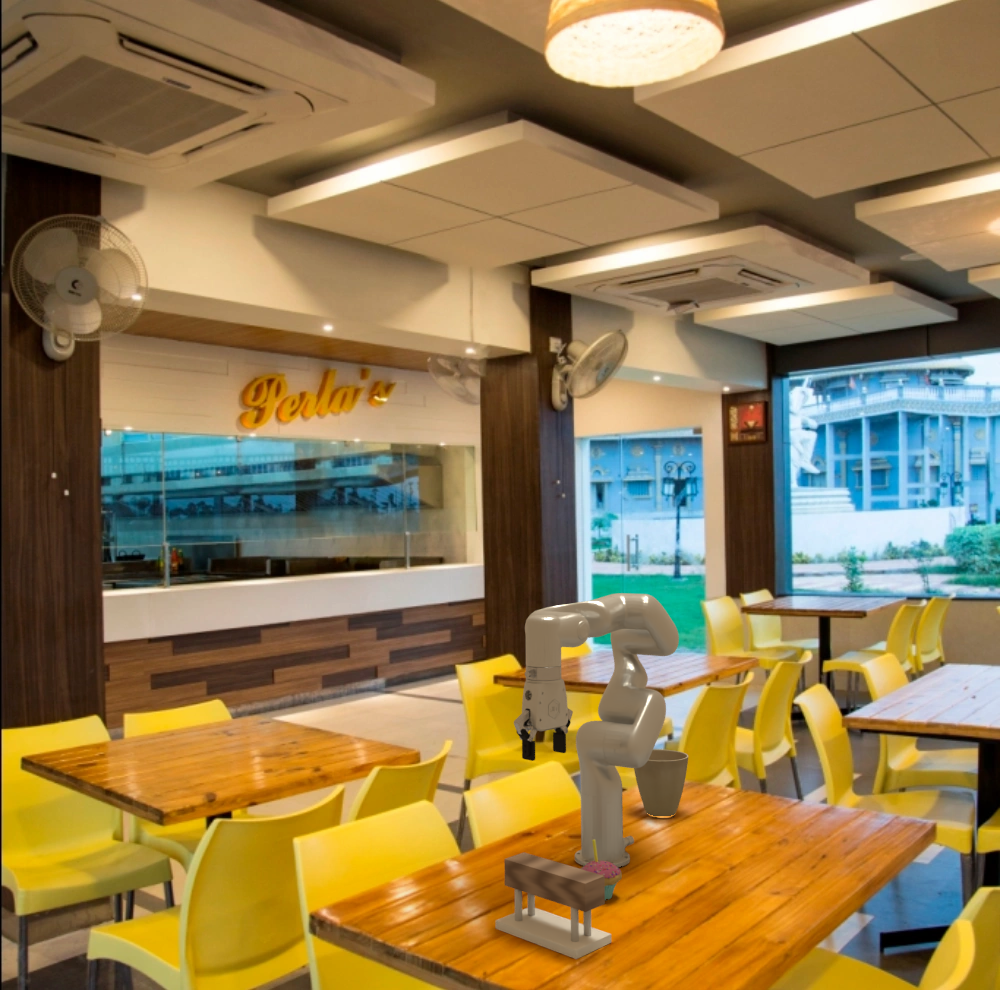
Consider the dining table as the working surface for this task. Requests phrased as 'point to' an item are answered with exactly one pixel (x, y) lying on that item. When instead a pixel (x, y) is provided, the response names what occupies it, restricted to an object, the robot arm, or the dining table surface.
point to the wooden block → (555, 881)
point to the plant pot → (662, 781)
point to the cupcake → (604, 872)
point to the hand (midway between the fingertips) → (544, 755)
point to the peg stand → (553, 929)
